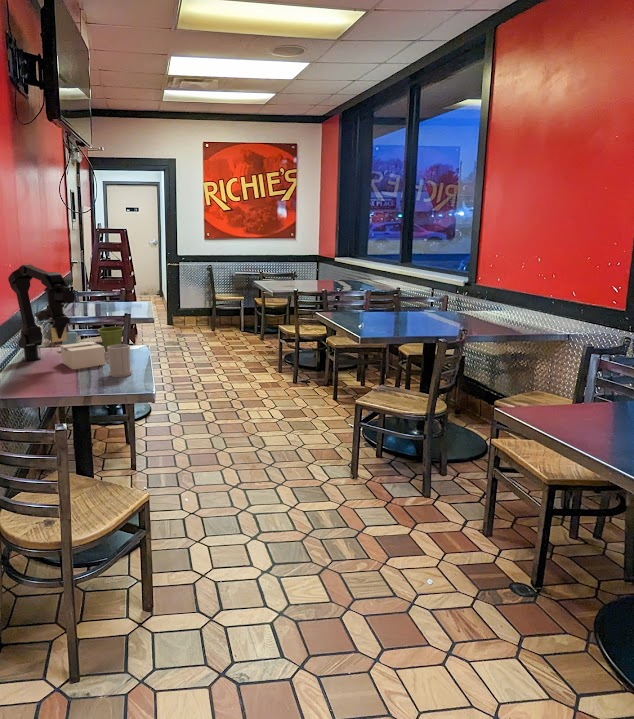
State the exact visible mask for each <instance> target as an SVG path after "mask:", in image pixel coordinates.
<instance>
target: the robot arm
mask: <svg viewBox="0 0 634 719" xmlns="http://www.w3.org/2000/svg"><path fill="white" fill-rule="evenodd" d="M7 278H8V283H9V286H10V288H11V289H12V291H13V292H14V294H16V298H17V299H16V300H17V302H18V307H19V312H20V316H21V322H22V327H21V330H20V338H19V339H18V341H17V345H18V348H21V349H23V353H24V357H22V360H23V361H25V362H33V361H40V360H42V359H41V357H40V356H39V352H38V351H39V350H38V346H42V345H43V338H44V337H43V332H42V328H41V326H38V325H37V324H36V323H35V322H36V321H35V318H36V319H37V322H43V321H44V320H45V321H47V324H50V325H51V326H52V328H53V327H55V329H56V332H57V336H58V338H59V339H60V338H61V337H62V335H63V332H64V329H65V327H66V326H67V325H68V324H71V320H70V319H71V318H69V317H68V316H66V314H65V313H64V307H65V304H73V302H74V301H75V299H76V296H75V293H74V292H73V291H72V290H71V288H70V287H69V286H68V284H67V282H66V280H65V279H64V278H63V276H62V274H61V273H60V272H59V271H57V272H56V271H47V270H43V269H41V268H40V267H36V266H34V265H33V264H22V265H20V266H19V267H18V268H16V269H15V270H14V271H12V272H11V273H10V275H8V277H7ZM32 279H35V280H37V281H40V283H41V284H42V285H43V286H44V287H45V288H44V289H43V291H44V292H46V297H47V298H46V299H47V305H46V308H44V309H42V310H40V311H38V312H35V313H33V308H32V304H31V300H30V294H29V290H30V288H31V281H32ZM34 316H35V318H34Z"/></svg>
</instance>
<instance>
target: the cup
mask: <svg viewBox="0 0 634 719" xmlns="http://www.w3.org/2000/svg"><path fill="white" fill-rule="evenodd" d="M107 350H108V352H105V351H104V358H105V364H107V365H109V371H108V372H109V376H110V377H111V378H124V377H126V378H127V377H129V376H131V375H132V374H133V372H132V369H131V363H130V362H131V360H130V359H131V358H130V356H131V352H130V350H131V346H130V345H129V344H124V343H123V344H122V343H121V344H118V345H111V346H108V347H107Z"/></svg>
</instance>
